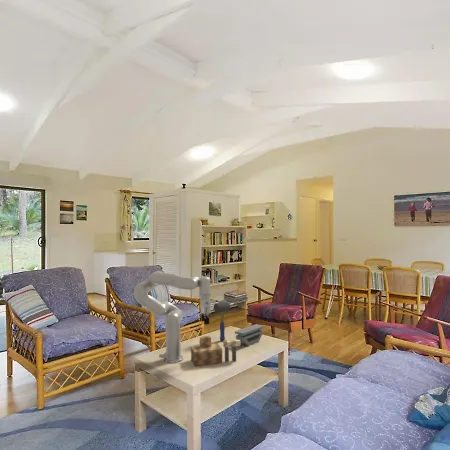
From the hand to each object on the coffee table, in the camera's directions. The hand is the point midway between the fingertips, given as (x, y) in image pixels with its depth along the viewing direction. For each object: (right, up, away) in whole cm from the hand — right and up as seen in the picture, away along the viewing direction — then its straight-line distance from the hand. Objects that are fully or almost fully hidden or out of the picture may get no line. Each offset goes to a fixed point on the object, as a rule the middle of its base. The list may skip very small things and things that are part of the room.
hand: (205, 322), depth 224 cm
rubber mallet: (+11, -26, +39) cm, 48 cm away
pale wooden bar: (+18, -15, -2) cm, 23 cm away
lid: (+1, -17, -3) cm, 17 cm away
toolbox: (+6, -25, -2) cm, 25 cm away
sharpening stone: (+32, -25, +33) cm, 52 cm away
